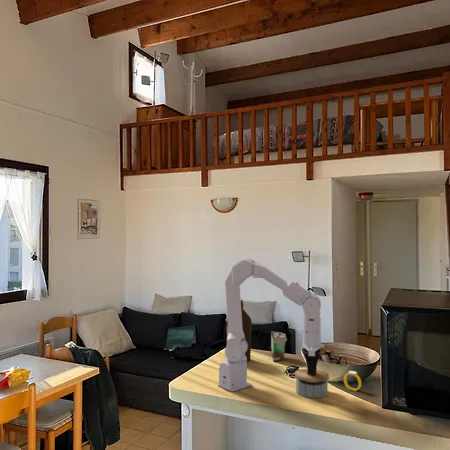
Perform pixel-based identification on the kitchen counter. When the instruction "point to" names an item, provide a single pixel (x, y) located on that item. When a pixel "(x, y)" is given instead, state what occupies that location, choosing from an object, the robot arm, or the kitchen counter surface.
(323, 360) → the lighter
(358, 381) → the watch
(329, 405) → the kitchen counter surface
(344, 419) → the kitchen counter surface
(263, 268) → the robot arm
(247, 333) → the olive oil
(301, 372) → the lid
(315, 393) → the bowl
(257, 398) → the kitchen counter surface
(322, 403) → the kitchen counter surface
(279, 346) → the food container
